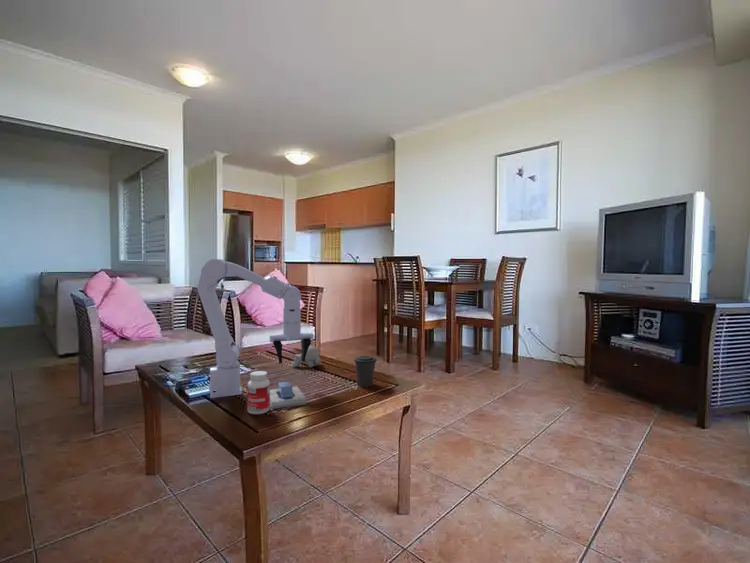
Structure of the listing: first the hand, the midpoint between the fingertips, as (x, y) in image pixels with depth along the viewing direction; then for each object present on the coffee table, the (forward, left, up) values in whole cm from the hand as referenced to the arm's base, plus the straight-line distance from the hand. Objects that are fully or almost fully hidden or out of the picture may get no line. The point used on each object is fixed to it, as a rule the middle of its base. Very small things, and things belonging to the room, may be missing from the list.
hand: (291, 361), depth 128 cm
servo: (-4, -10, -9) cm, 14 cm away
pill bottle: (-13, -16, -10) cm, 23 cm away
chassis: (-4, -10, -9) cm, 14 cm away
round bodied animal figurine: (+11, +27, -10) cm, 31 cm away
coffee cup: (+25, -5, -10) cm, 27 cm away
